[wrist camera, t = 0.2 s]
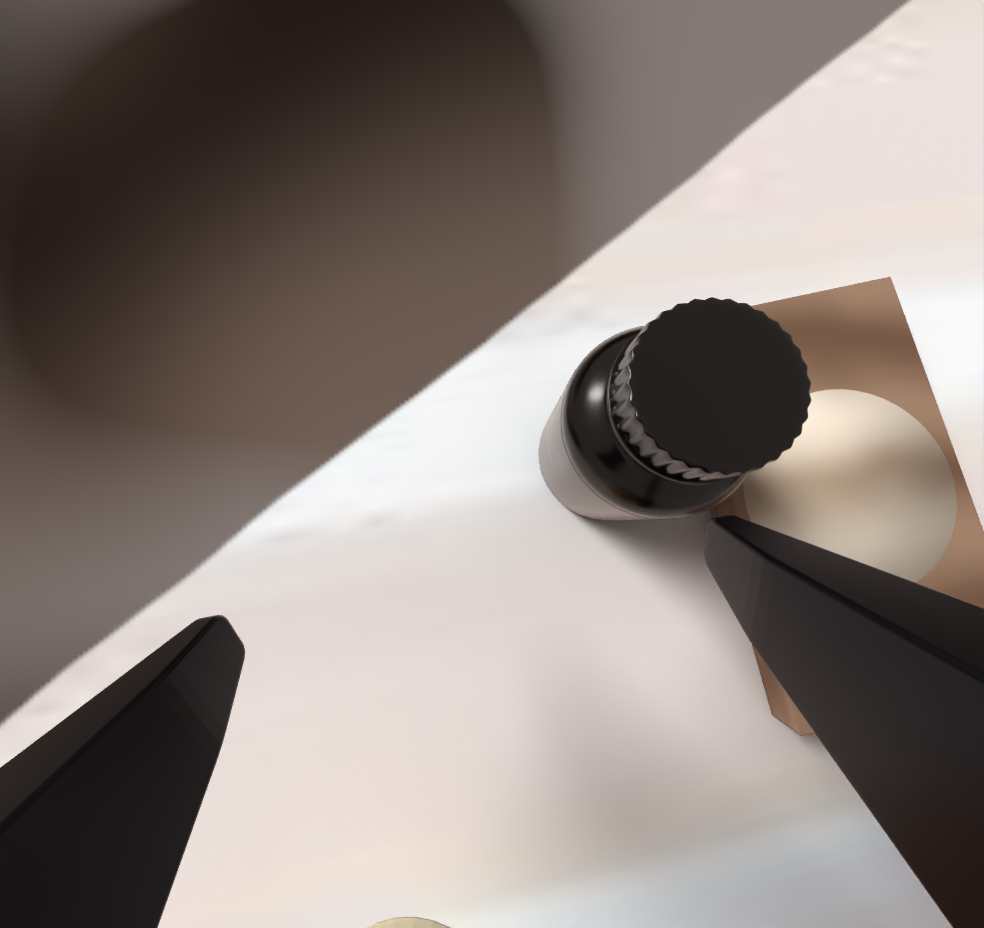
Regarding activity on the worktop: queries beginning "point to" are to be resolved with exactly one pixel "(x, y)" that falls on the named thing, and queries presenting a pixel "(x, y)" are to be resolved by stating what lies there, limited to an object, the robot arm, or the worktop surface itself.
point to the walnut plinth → (865, 457)
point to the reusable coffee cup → (407, 923)
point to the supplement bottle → (675, 413)
